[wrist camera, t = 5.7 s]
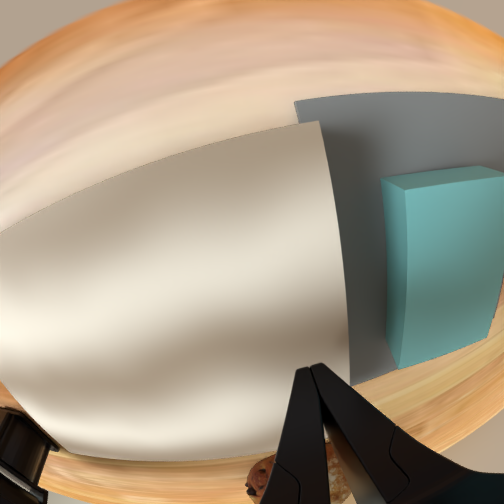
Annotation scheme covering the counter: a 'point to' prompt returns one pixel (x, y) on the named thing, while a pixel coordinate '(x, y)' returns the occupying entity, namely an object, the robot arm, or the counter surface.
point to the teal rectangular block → (442, 259)
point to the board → (178, 301)
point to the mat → (385, 165)
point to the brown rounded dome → (263, 469)
